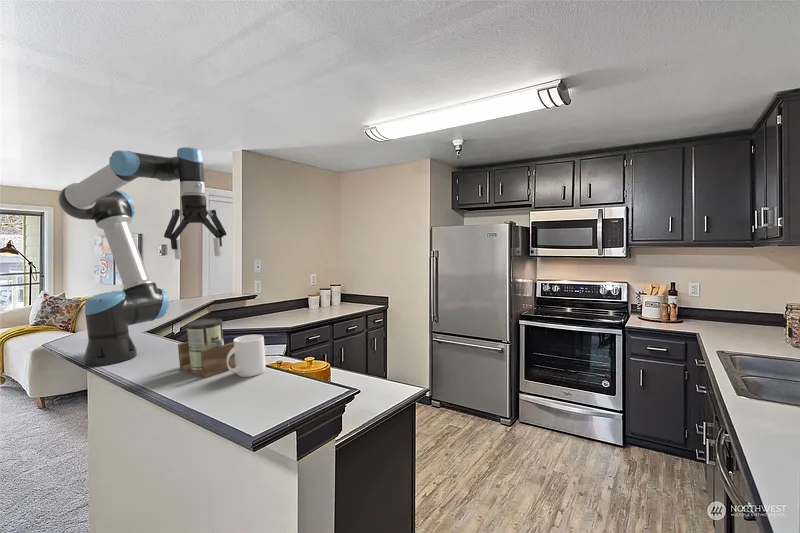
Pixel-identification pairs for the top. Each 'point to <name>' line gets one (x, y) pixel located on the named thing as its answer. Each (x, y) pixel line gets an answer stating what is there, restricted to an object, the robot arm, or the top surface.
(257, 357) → the mug
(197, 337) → the coffee can
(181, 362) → the cradle
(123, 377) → the top surface
